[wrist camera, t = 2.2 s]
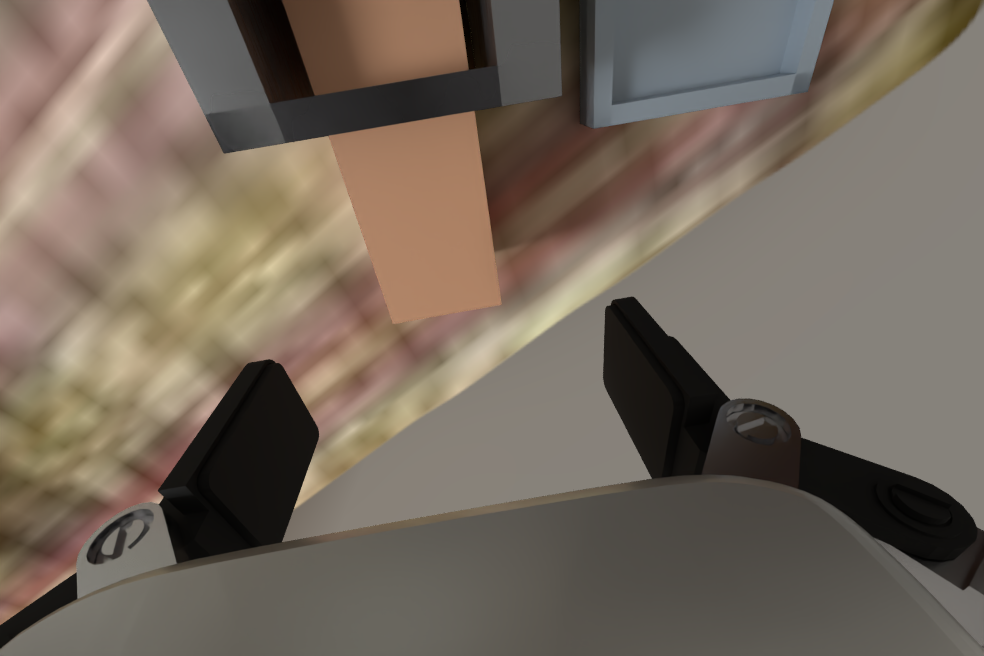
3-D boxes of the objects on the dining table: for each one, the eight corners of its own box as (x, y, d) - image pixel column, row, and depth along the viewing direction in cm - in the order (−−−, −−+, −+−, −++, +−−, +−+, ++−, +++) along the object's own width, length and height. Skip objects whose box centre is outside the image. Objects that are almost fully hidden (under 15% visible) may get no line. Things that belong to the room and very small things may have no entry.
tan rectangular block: (313, -34, 15) (252, -86, 10) (440, -55, 15) (442, -115, 10) (402, 267, 22) (393, 324, 17) (487, 252, 22) (501, 304, 17)
